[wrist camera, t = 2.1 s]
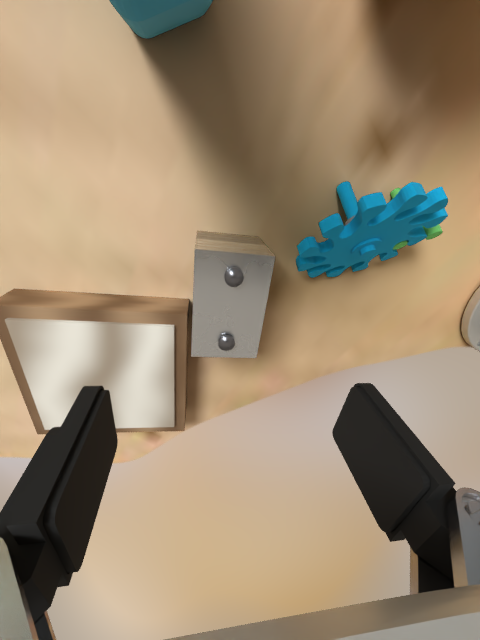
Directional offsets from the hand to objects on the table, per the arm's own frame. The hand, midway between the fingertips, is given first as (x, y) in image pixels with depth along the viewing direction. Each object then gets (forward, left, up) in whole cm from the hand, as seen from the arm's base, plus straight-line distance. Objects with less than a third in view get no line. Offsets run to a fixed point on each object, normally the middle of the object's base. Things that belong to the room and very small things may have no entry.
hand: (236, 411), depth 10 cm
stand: (+9, +9, -15) cm, 20 cm away
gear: (-10, -5, -15) cm, 19 cm away
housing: (0, 0, -15) cm, 15 cm away
